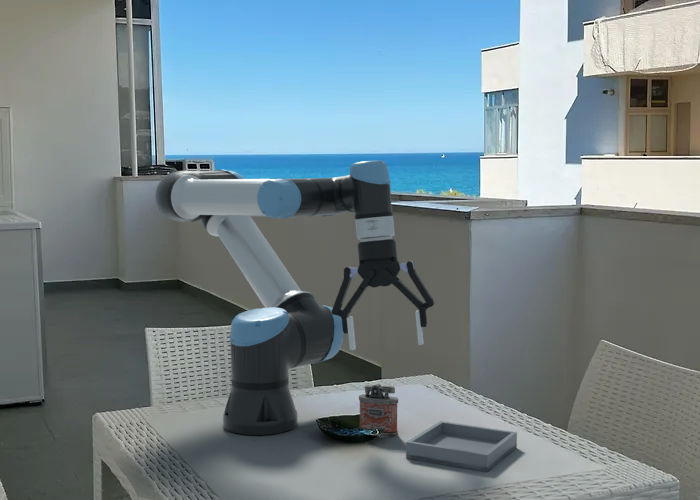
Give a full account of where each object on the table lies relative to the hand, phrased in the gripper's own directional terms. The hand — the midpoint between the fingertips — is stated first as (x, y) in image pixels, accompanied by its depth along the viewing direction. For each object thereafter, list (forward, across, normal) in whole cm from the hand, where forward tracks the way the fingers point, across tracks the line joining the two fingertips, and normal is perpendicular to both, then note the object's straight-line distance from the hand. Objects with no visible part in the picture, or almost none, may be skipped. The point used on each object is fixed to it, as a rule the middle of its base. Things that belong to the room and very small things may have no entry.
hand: (386, 347), depth 183 cm
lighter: (+17, -3, 0) cm, 18 cm away
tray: (+20, +14, -9) cm, 25 cm away
